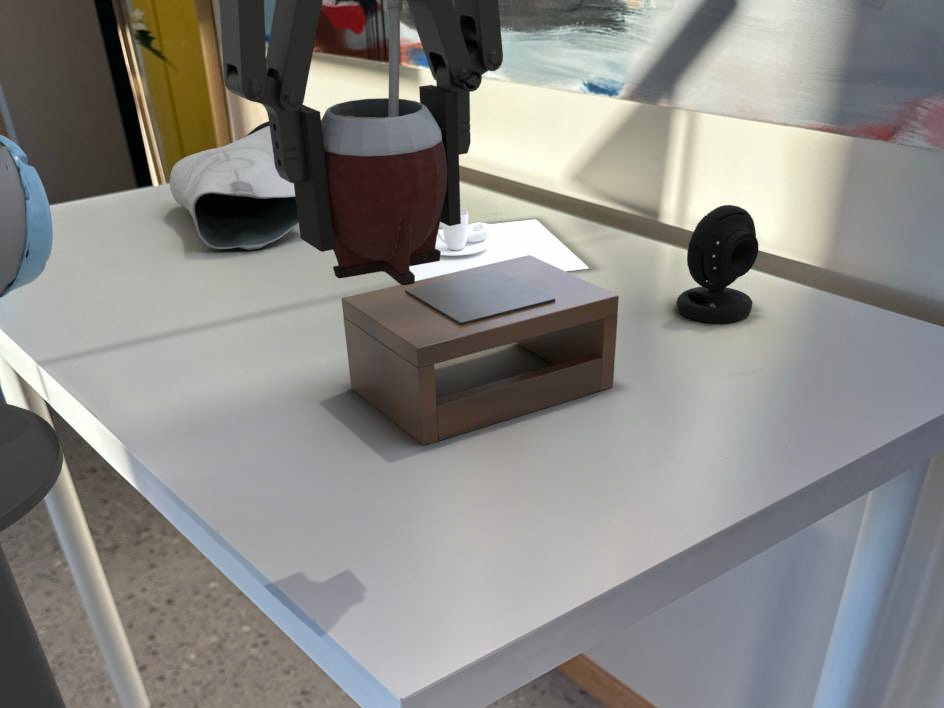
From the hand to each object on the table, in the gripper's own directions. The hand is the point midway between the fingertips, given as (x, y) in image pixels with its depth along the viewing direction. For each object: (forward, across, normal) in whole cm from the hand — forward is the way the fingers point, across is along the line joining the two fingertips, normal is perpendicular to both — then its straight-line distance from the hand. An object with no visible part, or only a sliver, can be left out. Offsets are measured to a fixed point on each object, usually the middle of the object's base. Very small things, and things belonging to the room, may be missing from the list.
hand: (381, 230), depth 53 cm
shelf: (+20, +17, +18) cm, 32 cm away
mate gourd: (+2, 0, 0) cm, 2 cm away
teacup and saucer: (+21, +37, +50) cm, 65 cm away
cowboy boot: (+21, +24, +76) cm, 83 cm away
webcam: (+20, +46, +20) cm, 54 cm away
